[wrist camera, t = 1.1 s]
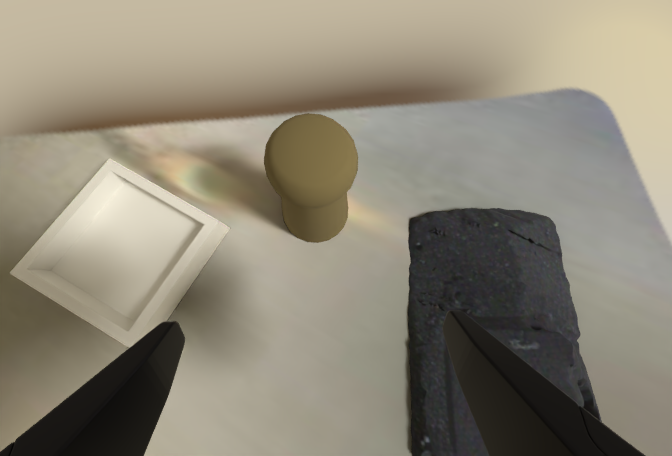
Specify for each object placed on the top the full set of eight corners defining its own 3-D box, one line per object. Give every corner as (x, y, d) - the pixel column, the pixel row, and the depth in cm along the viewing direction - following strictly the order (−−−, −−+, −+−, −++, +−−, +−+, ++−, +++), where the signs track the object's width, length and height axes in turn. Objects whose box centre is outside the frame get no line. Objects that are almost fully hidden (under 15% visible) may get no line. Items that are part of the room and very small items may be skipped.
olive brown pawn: (359, 200, 24) (391, 129, 13) (326, 255, 22) (331, 227, 12) (305, 168, 24) (292, 74, 13) (269, 220, 23) (223, 163, 12)
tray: (153, 340, 20) (129, 348, 18) (45, 274, 21) (9, 273, 18) (230, 228, 22) (219, 220, 20) (131, 171, 23) (109, 158, 21)
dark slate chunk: (553, 216, 25) (605, 200, 20) (597, 483, 20) (680, 541, 15) (401, 209, 24) (420, 191, 20) (408, 484, 19) (436, 546, 15)
